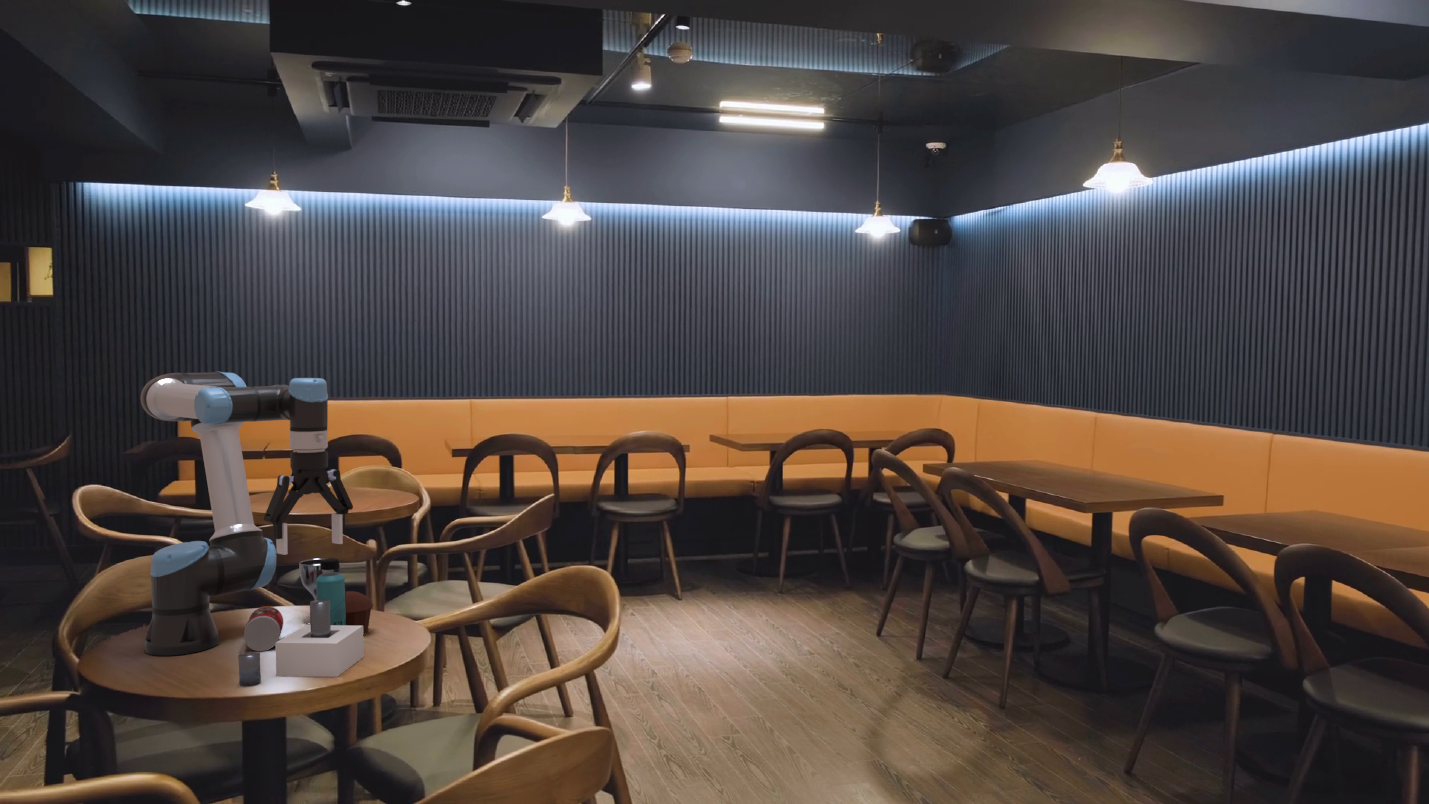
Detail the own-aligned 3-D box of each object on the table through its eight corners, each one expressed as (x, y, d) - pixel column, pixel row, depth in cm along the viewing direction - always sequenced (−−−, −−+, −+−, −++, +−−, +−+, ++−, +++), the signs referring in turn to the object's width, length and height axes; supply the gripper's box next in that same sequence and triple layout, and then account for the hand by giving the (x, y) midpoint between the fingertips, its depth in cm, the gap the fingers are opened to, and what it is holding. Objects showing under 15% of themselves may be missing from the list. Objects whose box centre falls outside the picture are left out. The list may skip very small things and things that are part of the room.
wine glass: (307, 626, 253) (306, 566, 252) (296, 620, 259) (294, 561, 258) (339, 620, 258) (338, 561, 257) (327, 614, 264) (326, 557, 263)
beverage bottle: (334, 650, 232) (332, 562, 231) (310, 647, 235) (308, 560, 233) (353, 642, 239) (351, 557, 237) (329, 639, 241) (328, 555, 240)
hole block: (276, 675, 214) (275, 642, 214) (306, 656, 228) (305, 625, 228) (337, 676, 213) (336, 643, 213) (363, 656, 227) (363, 625, 227)
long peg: (308, 668, 219) (306, 603, 218) (316, 663, 223) (314, 599, 222) (326, 669, 219) (324, 604, 218) (334, 663, 223) (332, 599, 222)
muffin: (314, 641, 240) (313, 598, 240) (331, 628, 251) (330, 587, 251) (365, 640, 240) (365, 598, 240) (380, 627, 252) (379, 587, 251)
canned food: (280, 601, 243) (276, 612, 232) (286, 634, 243) (283, 646, 233) (245, 609, 240) (239, 621, 230) (252, 642, 241) (247, 655, 231)
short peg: (235, 686, 207) (234, 657, 207) (245, 680, 211) (244, 651, 211) (254, 687, 207) (253, 657, 207) (264, 680, 211) (263, 651, 211)
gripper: (266, 456, 207) (268, 560, 209) (368, 446, 228) (369, 541, 229) (244, 454, 211) (246, 556, 213) (347, 444, 232) (347, 537, 233)
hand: (310, 548), depth 221 cm, fingers open, 13 cm apart
